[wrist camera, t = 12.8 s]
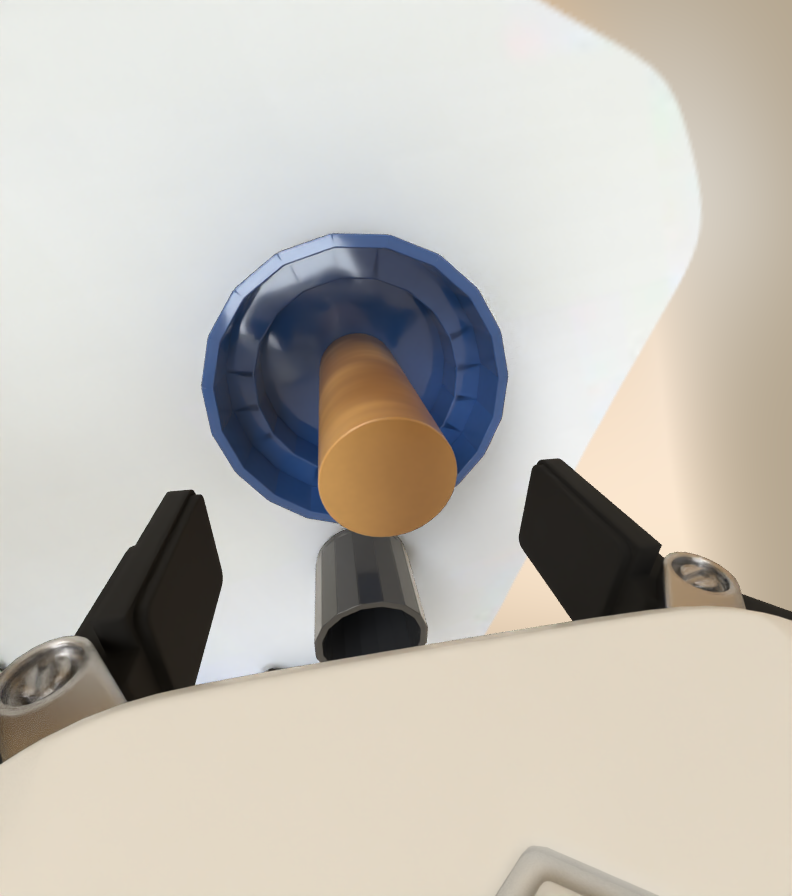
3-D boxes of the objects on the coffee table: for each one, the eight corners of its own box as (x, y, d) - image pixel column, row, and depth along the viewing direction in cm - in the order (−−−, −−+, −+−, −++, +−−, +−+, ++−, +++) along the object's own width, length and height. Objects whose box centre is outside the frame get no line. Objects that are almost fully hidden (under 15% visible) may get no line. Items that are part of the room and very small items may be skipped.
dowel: (322, 408, 23) (323, 544, 13) (316, 333, 21) (311, 421, 11) (394, 405, 24) (452, 531, 14) (396, 332, 22) (464, 413, 12)
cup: (319, 598, 31) (319, 685, 25) (312, 530, 28) (310, 610, 22) (404, 588, 32) (424, 669, 26) (407, 521, 29) (430, 595, 23)
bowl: (250, 480, 25) (234, 536, 20) (204, 233, 19) (164, 229, 14) (458, 464, 27) (488, 511, 23) (481, 238, 21) (529, 237, 16)
